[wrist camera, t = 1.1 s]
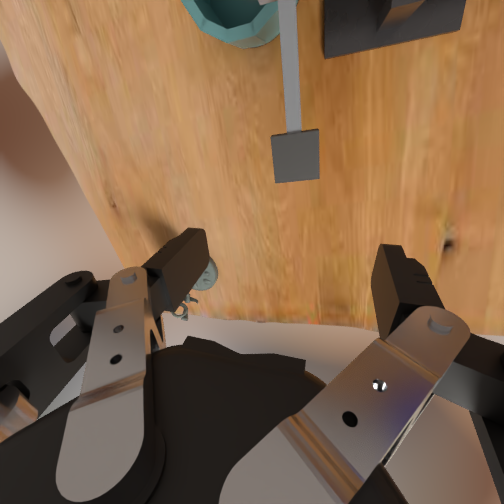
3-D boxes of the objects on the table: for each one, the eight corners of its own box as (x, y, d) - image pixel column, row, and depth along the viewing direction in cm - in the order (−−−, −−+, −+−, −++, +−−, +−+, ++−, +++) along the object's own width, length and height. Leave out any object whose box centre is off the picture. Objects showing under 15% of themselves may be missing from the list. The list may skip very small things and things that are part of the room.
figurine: (180, 285, 56) (146, 325, 47) (165, 243, 51) (123, 280, 41) (222, 289, 53) (195, 334, 43) (211, 245, 47) (177, 286, 38)
